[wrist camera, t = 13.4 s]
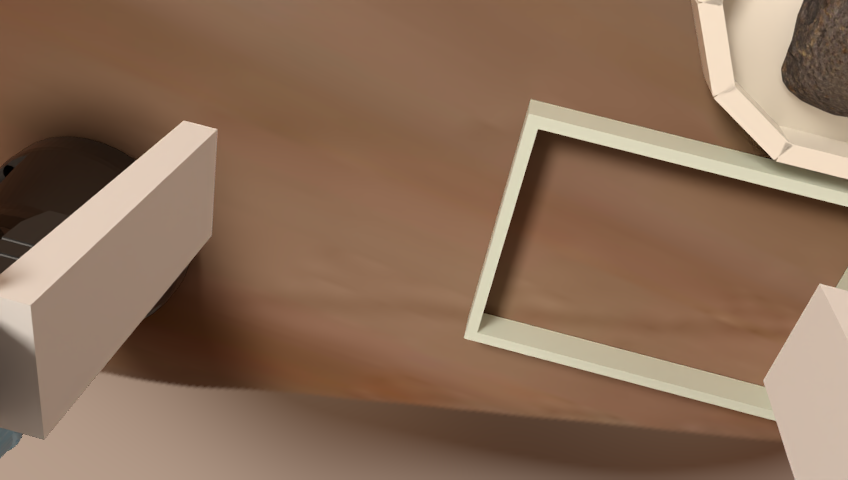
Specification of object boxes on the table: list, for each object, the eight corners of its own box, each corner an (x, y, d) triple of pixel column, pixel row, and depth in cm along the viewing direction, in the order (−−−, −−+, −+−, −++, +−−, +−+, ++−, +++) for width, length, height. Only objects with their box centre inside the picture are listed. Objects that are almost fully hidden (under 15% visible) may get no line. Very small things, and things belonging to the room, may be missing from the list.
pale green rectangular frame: (468, 317, 57) (463, 338, 55) (530, 99, 47) (528, 113, 45) (780, 400, 56) (789, 424, 54) (906, 193, 46) (922, 212, 44)
